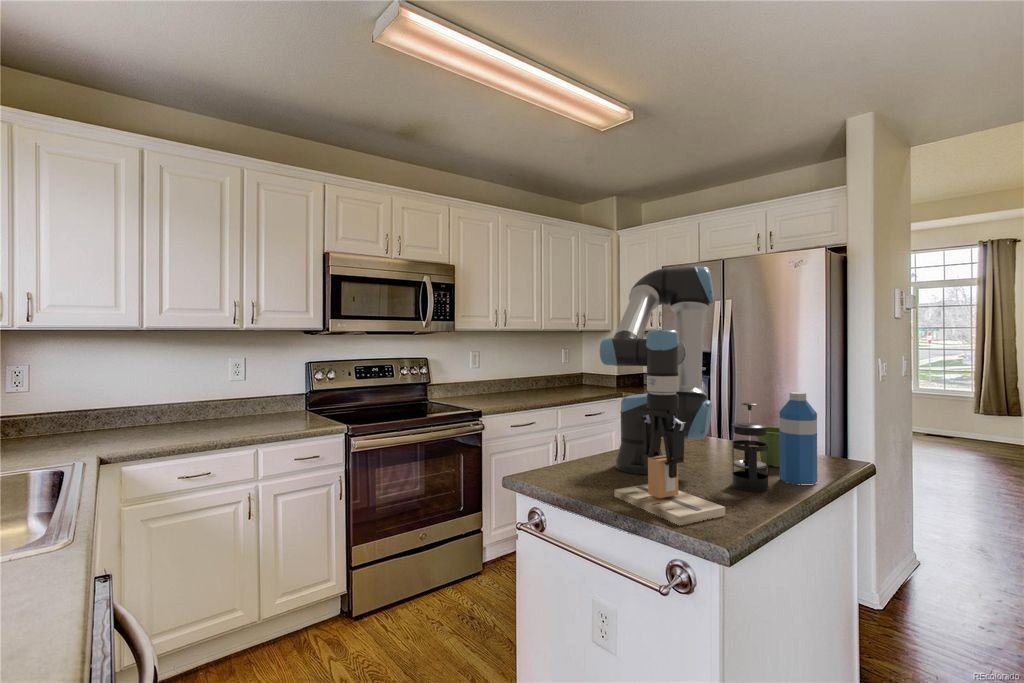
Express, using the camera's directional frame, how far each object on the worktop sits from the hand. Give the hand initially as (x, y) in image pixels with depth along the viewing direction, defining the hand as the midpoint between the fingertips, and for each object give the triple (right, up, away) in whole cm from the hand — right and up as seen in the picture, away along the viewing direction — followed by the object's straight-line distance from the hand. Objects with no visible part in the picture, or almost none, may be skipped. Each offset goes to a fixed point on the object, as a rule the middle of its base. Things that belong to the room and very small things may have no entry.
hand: (663, 487), depth 128 cm
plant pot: (+47, -4, +39) cm, 61 cm away
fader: (0, -2, 0) cm, 2 cm away
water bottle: (+44, -4, +19) cm, 48 cm away
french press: (+28, -4, +14) cm, 31 cm away
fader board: (+1, -4, -1) cm, 4 cm away
